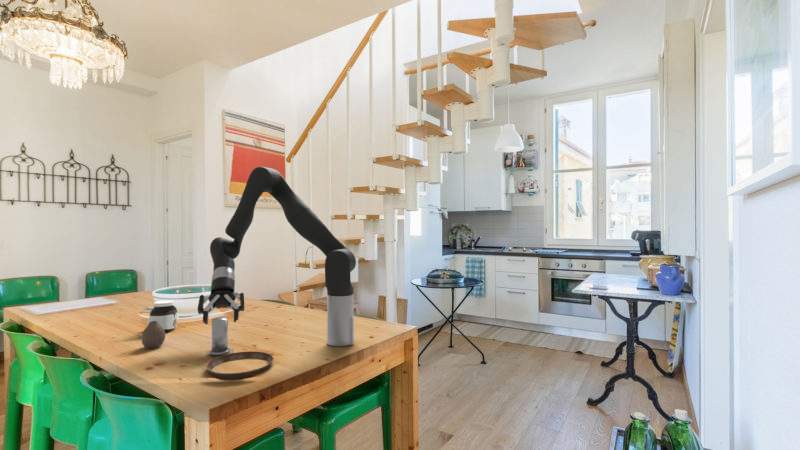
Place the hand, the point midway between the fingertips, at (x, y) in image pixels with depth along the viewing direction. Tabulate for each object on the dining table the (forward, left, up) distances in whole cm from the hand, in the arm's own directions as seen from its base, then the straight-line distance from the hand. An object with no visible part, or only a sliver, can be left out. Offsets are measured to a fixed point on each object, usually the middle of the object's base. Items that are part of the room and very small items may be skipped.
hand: (220, 321), depth 125 cm
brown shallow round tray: (-12, +17, -11) cm, 23 cm away
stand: (-1, +4, -10) cm, 11 cm away
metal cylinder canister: (-1, +4, -9) cm, 10 cm away
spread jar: (+36, -31, -10) cm, 49 cm away
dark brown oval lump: (+26, -8, -10) cm, 29 cm away
